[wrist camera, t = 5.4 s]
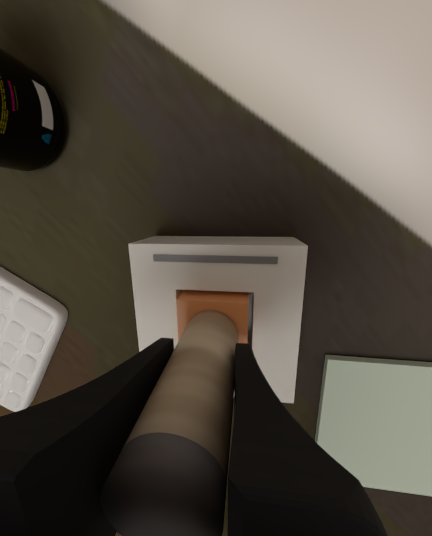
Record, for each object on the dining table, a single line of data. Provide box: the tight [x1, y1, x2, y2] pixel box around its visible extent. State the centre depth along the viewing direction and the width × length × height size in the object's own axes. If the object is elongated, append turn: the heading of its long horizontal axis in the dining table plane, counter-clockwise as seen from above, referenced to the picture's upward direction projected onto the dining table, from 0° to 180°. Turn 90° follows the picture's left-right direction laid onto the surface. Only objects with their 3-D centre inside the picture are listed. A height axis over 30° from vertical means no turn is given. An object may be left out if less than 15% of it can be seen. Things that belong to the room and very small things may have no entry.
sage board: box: [315, 355, 432, 496], centre depth 18 cm, size 12×10×1 cm
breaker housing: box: [128, 236, 308, 403], centre depth 16 cm, size 10×10×4 cm
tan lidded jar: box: [100, 310, 239, 536], centre depth 9 cm, size 3×3×8 cm
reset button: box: [176, 290, 249, 344], centre depth 14 cm, size 4×4×3 cm
